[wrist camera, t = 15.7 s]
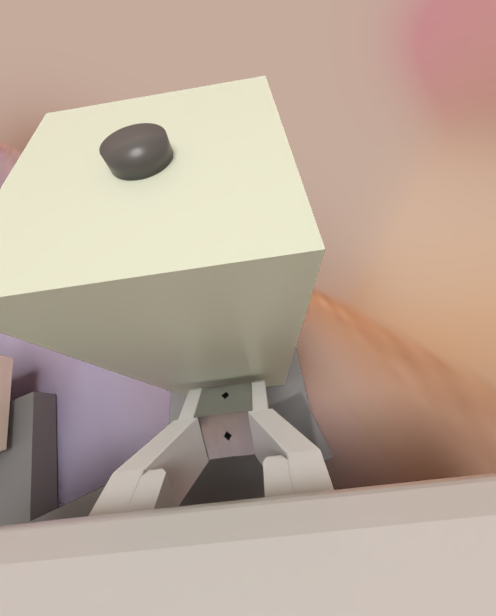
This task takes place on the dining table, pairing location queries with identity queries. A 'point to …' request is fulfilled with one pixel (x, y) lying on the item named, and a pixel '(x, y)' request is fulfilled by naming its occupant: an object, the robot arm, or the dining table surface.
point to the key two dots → (5, 397)
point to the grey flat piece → (43, 485)
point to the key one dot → (162, 238)
